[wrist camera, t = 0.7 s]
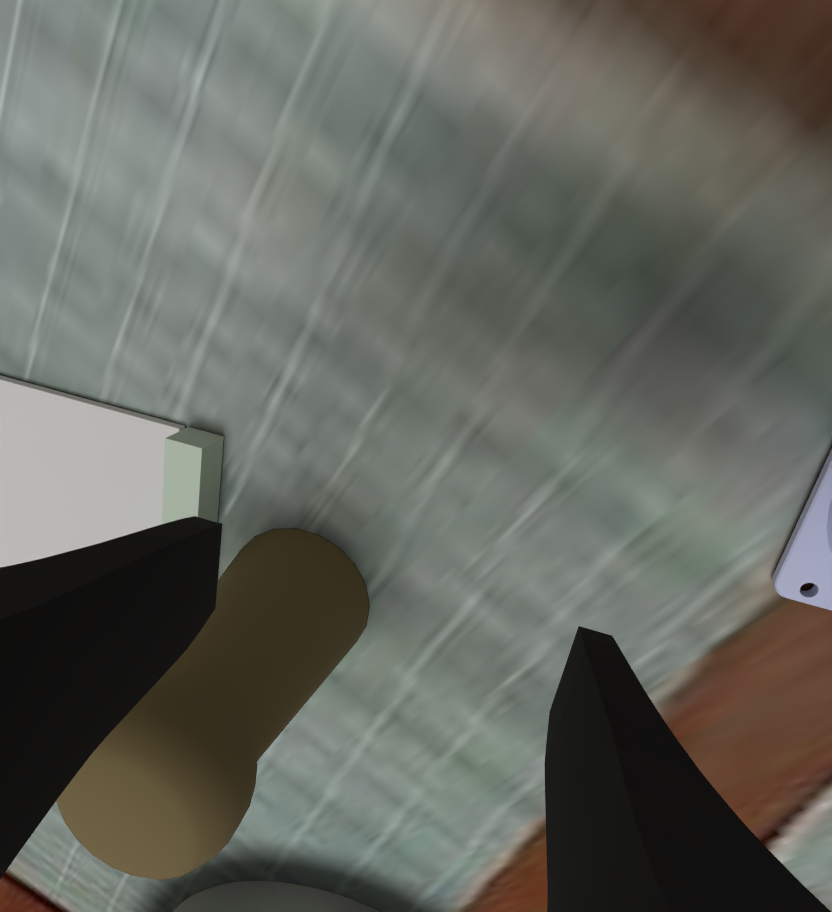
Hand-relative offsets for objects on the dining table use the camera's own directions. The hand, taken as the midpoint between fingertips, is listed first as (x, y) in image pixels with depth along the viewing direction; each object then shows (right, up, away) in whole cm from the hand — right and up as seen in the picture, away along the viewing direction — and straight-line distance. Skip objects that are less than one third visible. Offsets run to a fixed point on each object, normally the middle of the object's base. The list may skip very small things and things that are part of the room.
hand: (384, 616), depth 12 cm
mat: (-15, 0, +15) cm, 21 cm away
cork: (-4, -3, +14) cm, 14 cm away
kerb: (-9, -1, +14) cm, 16 cm away
